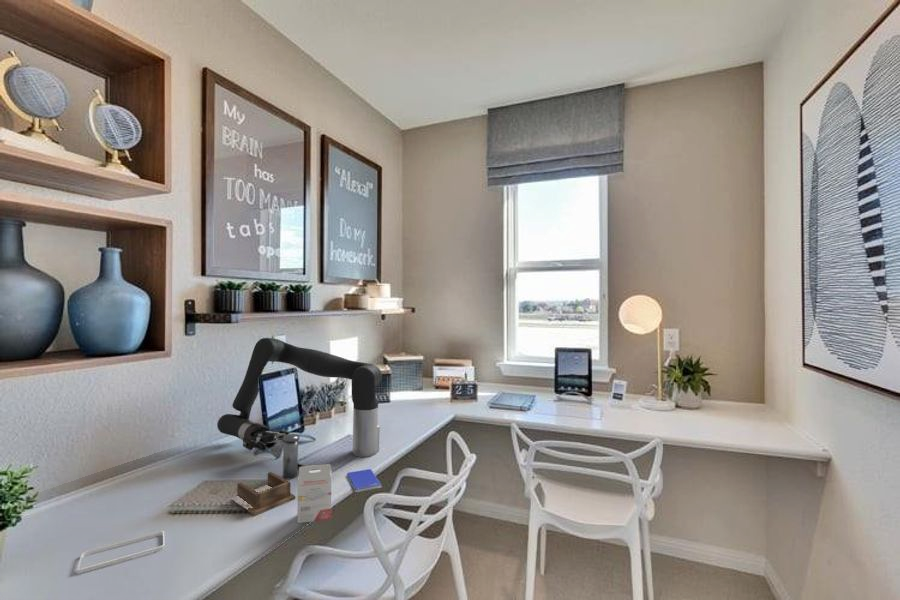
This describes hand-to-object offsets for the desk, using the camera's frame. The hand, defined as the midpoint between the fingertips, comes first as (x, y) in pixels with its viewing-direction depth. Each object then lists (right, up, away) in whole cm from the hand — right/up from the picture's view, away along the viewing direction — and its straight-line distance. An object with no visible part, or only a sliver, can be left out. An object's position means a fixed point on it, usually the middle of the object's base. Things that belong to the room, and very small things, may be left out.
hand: (277, 444), depth 135 cm
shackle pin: (+6, -9, -5) cm, 12 cm away
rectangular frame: (-15, -9, -45) cm, 48 cm away
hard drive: (+31, -10, -8) cm, 33 cm away
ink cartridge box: (+22, -9, -29) cm, 37 cm away
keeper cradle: (+5, -9, -20) cm, 23 cm away
